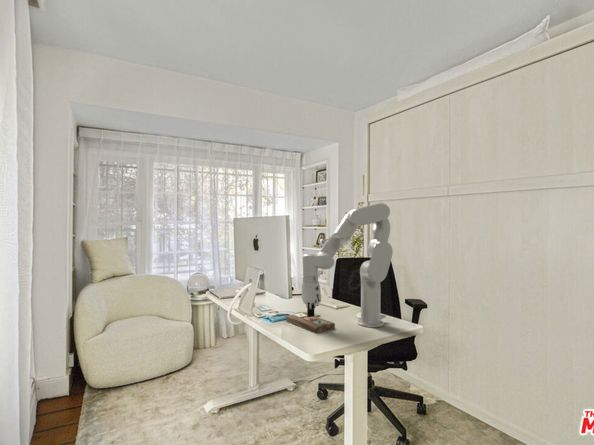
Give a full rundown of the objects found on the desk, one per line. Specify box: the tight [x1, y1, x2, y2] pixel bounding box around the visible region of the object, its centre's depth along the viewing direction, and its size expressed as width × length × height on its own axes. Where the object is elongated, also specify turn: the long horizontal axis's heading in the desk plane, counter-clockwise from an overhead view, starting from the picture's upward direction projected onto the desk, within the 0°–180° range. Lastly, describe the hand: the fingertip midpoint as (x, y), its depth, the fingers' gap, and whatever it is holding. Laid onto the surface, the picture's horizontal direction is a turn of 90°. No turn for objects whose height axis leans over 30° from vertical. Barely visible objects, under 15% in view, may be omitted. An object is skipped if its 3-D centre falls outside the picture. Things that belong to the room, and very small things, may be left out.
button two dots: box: [303, 317, 317, 322], centre depth 162 cm, size 5×5×3 cm
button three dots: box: [312, 320, 327, 326], centre depth 156 cm, size 5×5×3 cm
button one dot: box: [293, 312, 307, 318], centre depth 168 cm, size 5×5×3 cm
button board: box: [285, 312, 336, 334], centre depth 162 cm, size 12×23×2 cm, turn 37°
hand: (310, 316), depth 162 cm, fingers closed
